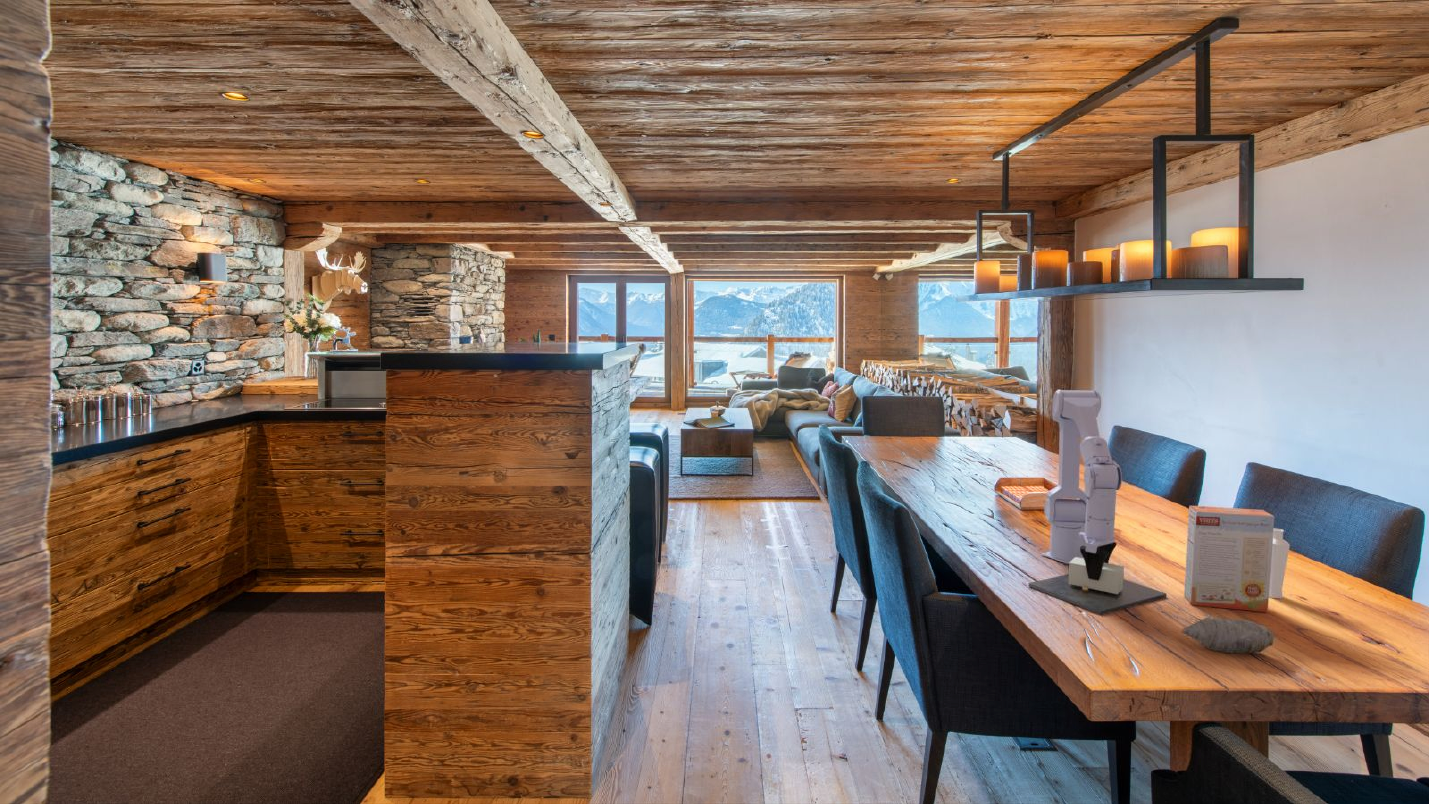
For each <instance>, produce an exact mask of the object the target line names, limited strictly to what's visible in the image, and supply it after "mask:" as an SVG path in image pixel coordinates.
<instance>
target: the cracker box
mask: <svg viewBox="0 0 1429 804" xmlns="http://www.w3.org/2000/svg"><path fill="white" fill-rule="evenodd" d="M1187 518H1188V522H1187V536H1186V537H1187V538H1186V555H1185V557H1186V558H1185V571H1184V572H1185V575H1184V589H1183V590H1184V594H1183V596H1184V597H1185V599H1186V600H1187V601H1188V603H1190V604H1191V606H1200V607H1201V606H1202V607H1211V608H1222V609H1232V610H1239V611H1241V610H1242V611H1248V612H1249V611H1252V612H1259V613H1268V612H1269V600H1270V599H1269V598H1270V597H1269V587H1270V573H1271V559H1272V545H1273V529H1274V528H1275V527H1274V526H1275V516H1274V515H1273V514H1271V513H1269V512H1267V511H1266V510H1265V509H1255V508H1254V509H1252V508H1251V509H1249V508H1236V507H1223V506H1222V507H1219V506H1205V505H1202V506H1201V505H1189V507H1188V517H1187Z"/></svg>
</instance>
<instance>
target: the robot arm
mask: <svg viewBox="0 0 1429 804" xmlns="http://www.w3.org/2000/svg"><path fill="white" fill-rule="evenodd" d="M1051 402H1052V406H1051V409H1052V410H1051V411H1052V412H1051V417H1052V421H1054V422H1057V423H1058V427H1059V442H1058V443H1059V444H1058V446H1059V448H1058V449H1059V450H1058V481H1057V482H1058V485H1057V486H1054V487H1053V488H1052V489H1050V490H1048V491H1047V493H1046V495H1045V502H1044V505H1043V506H1044V509H1043V510H1044V516H1045V520H1047V522H1048V523H1050V534H1049V535H1050V538H1049V540H1050V541H1049V551H1047V552H1042V553H1041V556H1043V557H1046V558H1049V559H1053V560H1055V561H1057V562H1058V561H1059V562H1061V563H1062V564H1067V565H1069V562H1070V561H1072V560H1073V559H1074V558H1075V557H1078V558H1083V559H1084V561H1085V564H1086V569H1087V575H1088V578H1089V579H1093V580H1099V579H1100V576H1101V572H1102V568H1103V564H1104V563H1109V562H1110V559H1111V555H1112V553H1113V551H1114V549H1115V548H1116V547H1117V545H1118V544H1117V542H1115V521H1116V520H1115V519H1116V518H1115V517H1116V506H1117V505H1116V503H1117V491H1119V490H1120V489H1121V487H1122V483H1123V475H1122V469H1121V466H1120V465H1119V464H1118V463H1117V461H1116V460H1113V458H1112V456H1111V452H1110V449H1109V448H1110V447H1109V446H1108V441H1106V439H1104V438H1103V437H1101V436H1100V431H1099V426H1098V420H1097V418H1098V416H1099V413H1100V411H1101V410H1102V409H1101V408H1102V395H1101V394H1100V392H1099V391H1098V390H1097V389H1092V390H1080V389H1078V390H1076V389H1074V390H1070V389H1068V390H1067V389H1063V390H1062V389H1057V390H1056V391H1054V394H1053V396H1052V401H1051ZM1081 439H1082V441H1081ZM1080 458H1082V461H1083V466H1084V470H1083V482H1084V490H1083V489H1081V488H1080Z"/></svg>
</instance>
